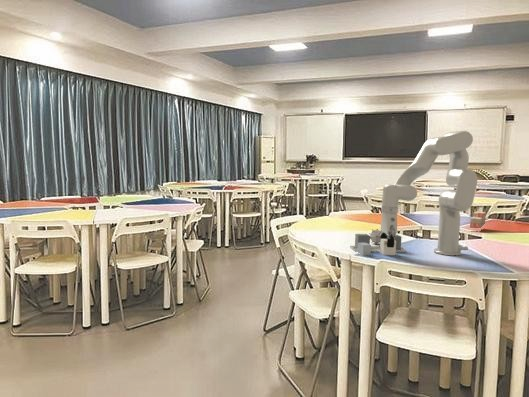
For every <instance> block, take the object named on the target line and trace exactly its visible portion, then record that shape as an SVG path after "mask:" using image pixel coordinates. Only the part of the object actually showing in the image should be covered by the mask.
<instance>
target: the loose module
mask: <svg viewBox="0 0 529 397" xmlns="http://www.w3.org/2000/svg"><path fill="white" fill-rule="evenodd" d="M379 246H380V252H379V253H380V254H381V255H383V256H396V254H397V252H396V240H394V247H387V239H381V240H380V243H379Z"/></svg>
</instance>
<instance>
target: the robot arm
mask: <svg viewBox="0 0 529 397" xmlns="http://www.w3.org/2000/svg"><path fill="white" fill-rule="evenodd" d="M473 138H474V137H473V135H472V134H471V133H470V132H469V131H466V130H458V131H449V132H446V133H445V134H443V136H440V137H431V138H428V139H427V140H426V141H425V142H423V145H422V147H421V148H420V150H419V151H418V154H417V155H416V157H415V158H414V160H413V162H411V164H410V165H409V166H407V168H406V169H405V170H404V171H403V172H402V173H400V175H399V176H398V177H397V179H396V181H395V183H394V184H385V185H383V186H382V200H381V201H382V202H381V214H382V215H381V221H380V222H381V223H380V231H381V237H380V240H381V239H387V235H388V239H387V247H394V239H395V235H396V234H397V233H398V232H397V231H398V211H399V210H398V209H399V200H401V201H405V202H406V201H407V202H410V201H413V200H415V199H416V198H417V196H418V190H417V189H416V188H415V187H414V186H412V184H413V183H414V181H416V180H417V179H418V178H420V177H422V176H424V175H426V174H428V173H429V171H430V169H431V168H432V167H433V165H434V163H435V162H436V160H437V159H438V156H445V155H446V156H447V155H449V162H448V167H447V171H446V176H445V182H446V185H447V186H448V187H450V188H456V190H455V189H445V190H444V191H442V192H441V193H440V195H439V197H438V208H439V221H438V222H439V223H438V232H437V234H438V236H437V237H438V238H437V248H434V249H433V252H434V253H436V254H438V255H443V256H444V255H445V256H454V255H456V256H461V255H462V251H468V250H469V247H468V245H467V246H464V245H461V244H459V242H460V241H459V240H460V230H461V229H460V228H461V227H460V226H461V213H460V212H467V211H469V210H470V208H471V207H472V206H473V203H474V199H475V195H476V190H477V185H478V175H477V174H476V171H474V170H473V169H470V168H468V166H469V153H468V151H467V150H468V149H469V147H471V145H472V144H473V141H474V139H473ZM397 235H398V234H397ZM454 257H455V256H454Z"/></svg>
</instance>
